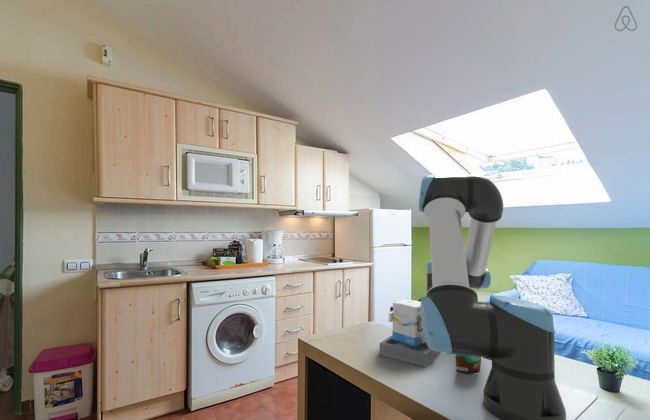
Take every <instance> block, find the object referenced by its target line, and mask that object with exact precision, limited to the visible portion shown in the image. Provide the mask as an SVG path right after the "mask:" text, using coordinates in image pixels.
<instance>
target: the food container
mask: <svg viewBox="0 0 650 420" xmlns="http://www.w3.org/2000/svg"><path fill="white" fill-rule="evenodd" d="M481 364H482V357H478V356H470V355H460V354H455V372H456V373H457V372H458V374H462V373H463V374H464V375H475V373H477V374H478V372H479V373H480V372H481Z"/></svg>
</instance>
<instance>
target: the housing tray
mask: <svg viewBox="0 0 650 420" xmlns="http://www.w3.org/2000/svg"><path fill="white" fill-rule="evenodd" d="M378 353H379V356H382V357H386V358H391V359H395V360H399V361H403V362H405V363H410V364H415V365H417V364H419V366H421V365H422V366H421V367H429V365H430V364H431V363H432V362H433V361H434V360H435V359H436V358H437V357H436V356H439V355H440V353H441V352H438V351H433V350H431V349H430V348H429V347H428V346H427V344H426V342H425V343H423V344H420V345H418V346H412V345H409V344H405V343H402V342H399V341H396V340H393V339H392V335H391V336H388V337H387V338H385V339H384V340H382V341H381V342H379V352H378ZM435 357H436V358H435ZM434 358H435V359H434ZM433 359H434V360H433ZM432 360H433V361H432ZM431 361H432V362H431ZM430 362H431V363H430ZM429 363H430V364H429ZM428 364H429V365H428Z"/></svg>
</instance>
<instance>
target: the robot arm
mask: <svg viewBox="0 0 650 420" xmlns="http://www.w3.org/2000/svg"><path fill="white" fill-rule="evenodd" d="M418 200H419V201H418V210H419V212H421V213H423V215H424V217H425V218H426V219H427V220H428V221H429V240H430V244H429V245H430V260H429V261H428V262H427V264H426V295H425V296H423V297H421V298H419V299H418V300H417V301H420V302H421V315H422V320H421V328H423V332H424V337H425V341H426V344H427V346H428V347H429V348H430V349H431V350H433V351H438V352H440V353H443V354H447V355H452V354H453V355H456V354H460V355H470V356H478V357H481V358H490V359H491V369H490V371H489V374H488V377H487V380H486V383H485V385H484V388H483V391H482V393H483V394H482V396H483V398H482V400H483V401H482V402H483V405H484V406H485V408H486V409H487V410H488V411H489V412H490V413H491V414H493V415H494V416H496V417H497V418H499V419H501V420H567V411H566V408H565V405H564V402H563V400H562V397H561V394H560V391H559V388H558V385H557V382H556V378H555V377H556V375H555V370H556V369H555V364H556V363H555V333H556V330H555V325H554V315H553V313H552V311H551V310H550V309H549V308H548V307H546V306H544V305H541V304H539V303H535V302H532V301H529V300H525V299H520V298H516V297H513V296H512V297H511V296H505V295H492V296H491V298H490V300H489V301H490V302H485V301H479V300H478V299H479V298H478V296H479V295H478V293H477V292H476V290H475V289H478V290H480V289H489V288H490V286H491V279H492V277H491V276H492V275H491V272H490V270H489V269H488V268H487V266H488V262H489V257H490V252H491V247H492V244H493V239H494V235H495V232H496V227H497V223H498V222H499V221H500V220H501V219H502V216H503V212H504V201H503V197H502V194H501V192H500V190H499V189H498V187H497V186H496V185H495V183H494V182H493V181H492V180H490V179H489V178H487V177H486V176H484V175H481V174H477V173H476V174H475V173H470V174H433V175H432V174H430V175H426V176H424V177H422V180H421V183H420V190H419V199H418ZM466 213H468V215H469V217H470V220H469V227H468V234H467V239H466V240H467V242H466V247H465V243H464V234H463V227H462V218H463V217H464V216H465V214H466ZM389 322H390V323H393V306H390V307H389V313H388V323H389Z"/></svg>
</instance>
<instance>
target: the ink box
mask: <svg viewBox="0 0 650 420" xmlns="http://www.w3.org/2000/svg"><path fill="white" fill-rule="evenodd" d="M392 307H393V321H392V335H391V336H392V339H393V340H396V341H399V342H402V343H405V344H409V345H412V346H418V345H420V344H423V343H425V342H426V341H425V337H424V332H423V328H421V320H422V315H421V302H420V301H418V300H415V299H408V298H407V299H402V300H398V301H394V302H392Z"/></svg>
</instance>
